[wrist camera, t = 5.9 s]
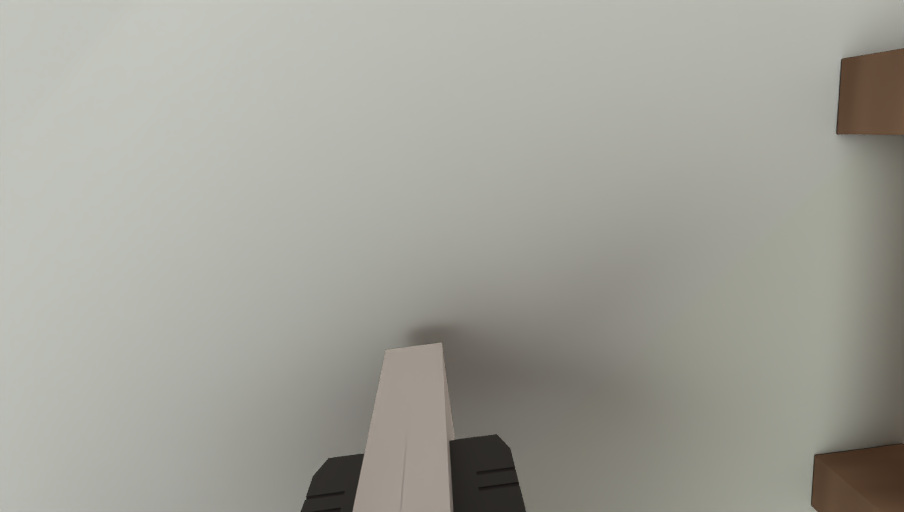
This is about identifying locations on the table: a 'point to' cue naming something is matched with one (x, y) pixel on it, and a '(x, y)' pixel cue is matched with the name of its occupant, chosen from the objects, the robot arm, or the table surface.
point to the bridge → (888, 467)
